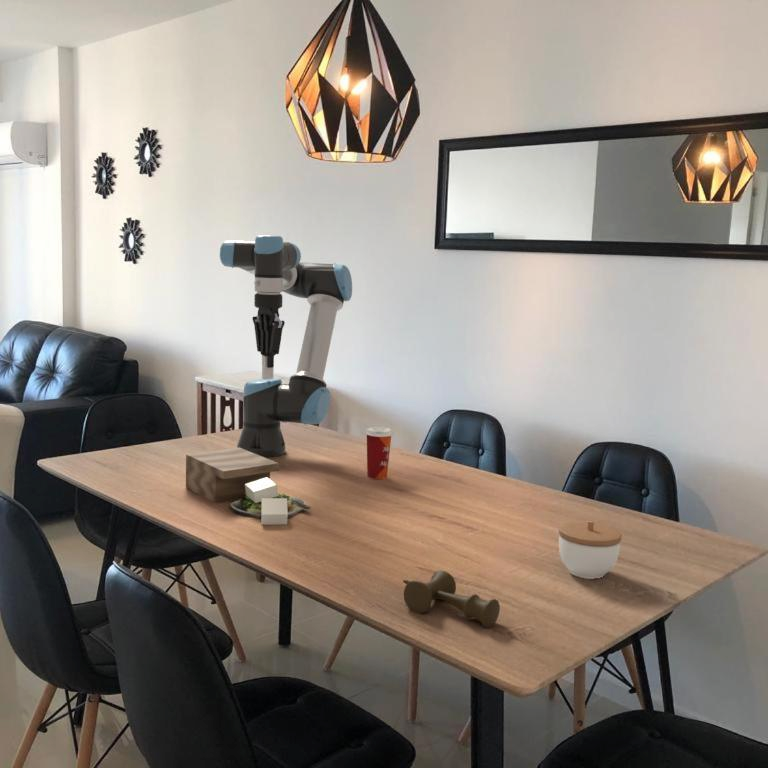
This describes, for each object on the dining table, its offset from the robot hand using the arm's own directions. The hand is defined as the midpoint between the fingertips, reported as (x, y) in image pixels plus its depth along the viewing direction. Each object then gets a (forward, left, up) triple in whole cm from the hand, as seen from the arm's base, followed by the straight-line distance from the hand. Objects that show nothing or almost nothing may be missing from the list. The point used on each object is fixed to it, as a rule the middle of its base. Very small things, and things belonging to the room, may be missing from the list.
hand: (267, 378), depth 232 cm
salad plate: (+24, -14, -29) cm, 40 cm away
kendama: (+94, -20, -29) cm, 100 cm away
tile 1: (+25, -17, -22) cm, 37 cm away
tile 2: (+34, -19, -27) cm, 47 cm away
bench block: (+8, -15, -28) cm, 33 cm away
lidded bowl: (+97, +18, -28) cm, 102 cm away
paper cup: (+16, +28, -28) cm, 43 cm away
